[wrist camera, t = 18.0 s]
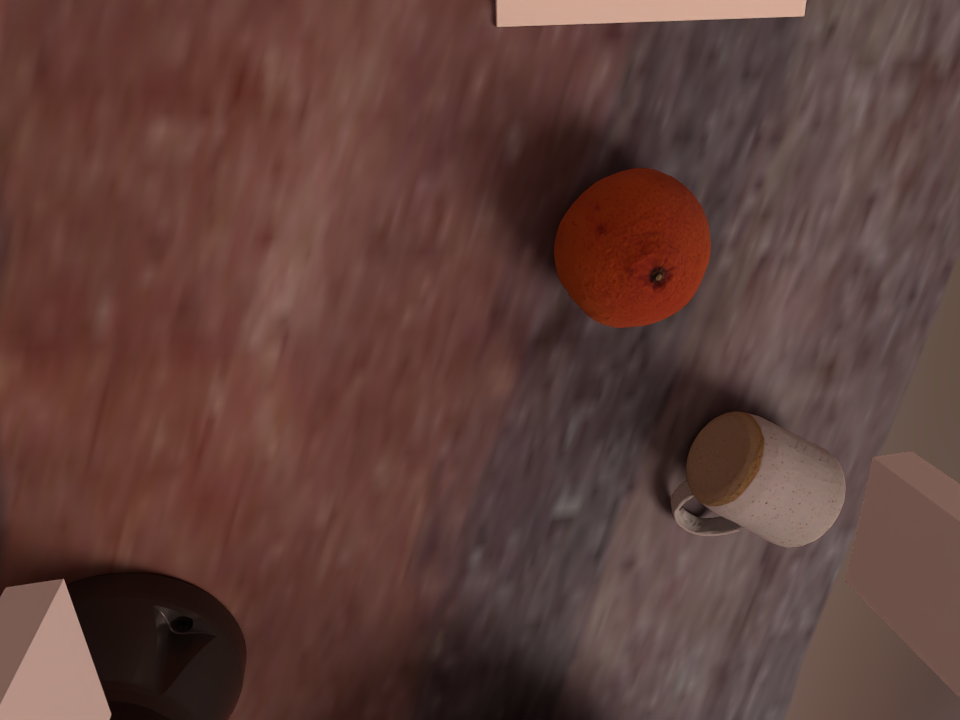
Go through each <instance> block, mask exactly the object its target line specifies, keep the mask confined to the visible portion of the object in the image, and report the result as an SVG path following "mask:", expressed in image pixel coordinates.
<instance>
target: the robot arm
mask: <svg viewBox="0 0 960 720" xmlns="http://www.w3.org/2000/svg"><path fill="white" fill-rule="evenodd" d="M846 582H847V583H848V584H849V585H850V586H851V587H852V588H853V589H854V590H855V592H857V594H858V595H860V597H861V598H862V599H863V600H864V601H865V602H866V603H867V604H868V605H869V606H870V607H871V608H872V609H873V610H874V611H875V612H876V613H877V614H878V615H879V616H880V617H881V618H882V619H883V620H884V621H885V622H886V623H887V624H888V625H889V626H890V627H891V628H892V629H893V630H894V631H895V632H896V633H897V634H898V635H899V636H900V637H901V638H902V639H903V640H904V641H905V643H906V644H907V645H908V646H909V647H910V648H911V649H912V650H913V651H914V652H915V653H916V654H917V655H918V656H919V657H920V658H921V659H922V660H923V661H924V662H925V663H926V664H927V665H928V666H929V667H930V668H931V669H932V670H933V671H934V672H935V673H936V674H937V675H938V676H939V677H940V678H941V679H942V680H943V681H944V682H945V683H946V684H947V685H948V686H949V687H950V688H951V689H952V690H953V691H954V692H955V693H956V695H958V697H959V698H960V484H958V483H957V482H956V481H954V480H953V479H951V478H950V477H948V476H947V475H945V474H944V473H943V472H941V471H940V470H938V469H937V468H935V467H934V466H932V465H931V464H929V463H928V462H926V461H925V460H923V459H922V458H921V457H919V456H918V455H916V454H915V453H913V452H912V451H911V452H904V453H898V454H892V455H884V456H878V457H873V459H872V464H871V468H870V473H869V477H868V482H867V486H866V491H865V495H864V500H863V504H862V509H861V513H860V518H859V522H858V527H857V532H856V536H855V541H854V545H853V550H852V554H851V559H850V564H849V568H848V572H847V577H846ZM245 664H246V645H245V640H244V637H243V634H242V631H241V629H240V627H239V625H238V623H237V622H236V620H235V618H234V617H233V616H232V615H231V613H230V612H229V611H228V610H227V609H226V608H225V607H224V606H223V605H222V604H221V603H220V602H219V601H217V600H216V599H215V598H213V597H212V596H210V595H209V594H207V593H206V592H204V591H202V590H200V589H198V588H196V587H194V586H192V585H190V584H187V583H185V582H182V581H179V580H176V579H172V578H168V577H164V576H159V575H153V574H143V573H117V574H108V575H101V576H96V577H92V578H87V579H84V580H81V581H78V582H75V583H72V584H70V585H67V586H66V584H65V581H64V579H59V580H52V581H45V582H39V583H32V584H25V585H19V586H12V587H6V588H5V590H4V591H3V593H2V595H1V596H0V720H228V719H229V717H230V715H231V714H232V712H233V710H234V708H235V706H236V704H237V702H238V699H239V696H240V693H241V690H242V686H243V679H244V672H245Z"/></svg>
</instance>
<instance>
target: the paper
mask: <svg viewBox="0 0 960 720" xmlns="http://www.w3.org/2000/svg"><path fill="white" fill-rule="evenodd" d="M495 1H496V27H510V26H539V25H568V24H596V23H625V22H654V21H682V20H711V19H740V18H768V17H797V16H804V14H805V6H806V0H495Z"/></svg>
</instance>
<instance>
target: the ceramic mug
mask: <svg viewBox="0 0 960 720" xmlns="http://www.w3.org/2000/svg"><path fill="white" fill-rule="evenodd" d="M686 476H687V481H685V482H683V483H682V484H681V485H679V486H678V488H677V489H676V490H675V491H674V493H673V494H672V497H671V508H672V514H673V517H674V520H675V522H676V523H677V524H678V525H679V526H680V527H681V528H682V529H684V530H686V531H688V532H690V533H693V534H697V535H702V536H719V535H725V534H729V533H734V532H737V531H740V530H742V529H744V528H745V529H747V530H749V531H751V532H753V533H755V534H757V535H758V536H760V537H762V538H764V539H765V540H767V541H769V542H771V543H774V544H776V545H780V546H784V547H796V546H803V545H805V544H808V543H810V542H812V541H815V540H816V539H818V538H819V537H821V536H822V535H823V534H824V533H825V532H826V531H827V530H828V529H829V528H830V527H831V526H832V525H833V523H834V522H835V520H836V518H837V517H838V515H839V513H840V510H841V508H842V505H843V503H844V498H845V478H844V473H843V470H842V468H841V466H840V464H839V462H838V461H837V459H836V458H835V457H834V456H833V455H832V454H831V453H829V452H828V451H827V450H825V449H823V448H822V447H820V446H818V445H816V444H814V443H811V442H809V441H807V440H805V439H803V438H802V437H800V436H798V435H796V434H794V433H792V432H790V431H787V430H785V429H783V428H781V427H779V426H777V425H776V424H774V423H772V422H770V421H768V420H766V419H764V418H762V417H759V416H756V415H753V414H749V413H745V412H738V411H734V412H728V413H725V414H722V415H720V416H718V417H716V418H714V419H713V420H711V421H710V422H709V423H708V424H707V425H706V426H705V427H704V428H703V429H702V430H701V431H700V432H699V434H698V435H697V437H696V438H695V440H694V442H693V444H692V445H691V448H690V451H689V454H688V458H687V464H686ZM693 496H695V497H696V498H697V499H698V500H699V502H701V503H702V504H703V505H704V506H706V507H707V508H708V509H710V510H711V511H713V512H714V513H716V514H718V515H720V516H721V517H715V518H700V517H696V516H694V515H692V514H690V513H689V512H687V511H686V510H685V509H684V508H683V507H681V506H682V505H683V504H684V503H685V502H686V501H687V500H690V499H691V498H692V497H693Z"/></svg>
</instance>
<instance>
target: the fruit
mask: <svg viewBox="0 0 960 720" xmlns="http://www.w3.org/2000/svg"><path fill="white" fill-rule="evenodd" d="M710 250H711V240H710V233H709V226H708V221H707V218H706V216H705V213H704V211H703V208H702V206H701V204H700V203H699V202H698V201H697V199H696V197H695V196H694V195H693V193H692V192H691V191H690V190H689V189H688V188H687V187H685V186H684V185H683V184H682V183H680V182H679V181H678V180H676V179H675V178H673V177H671V176H669V175H666V174H664V173H661V172H659V171H656V170H654V169H647V168H633V169H629V170H625V171H621V172H618V173H615V174H613V175H610V176H608V177H605V178H603V179H601V180H599V181H597V182H596V183H594V184H593V185H592V186H590V187H589V188H588V189H587V190H586V191H585V192H583V193H582V194H581V195H580V196H579V197H578V198H577V200H576V201H575V202H574V203H573V204H572V206H571V207H570V208H569V209H568V211H567V212H566V214H565V215H564V217H563V219H562V220H561V222H560V225H559V227H558V231H557V235H556V239H555V245H554V259H555V265H556V270H557V274H558V277H559V280H560V282H561V283H562V285H563V286H564V288H565V289H566V290H567V292H568V294H569V296H570V297H571V298H572V299H573V300H574V302H575V303H576V304H577V305H578V306H579V307H580V308H581V309H582V310H583V311H584V312H585V313H586V314H587V315H588V316H589V317H591V318H592V319H593V320H595V321H597V322H599V323H601V324H603V325H606V326H611V327H616V328H622V327H635V326H644V325H649V324H652V323H655V322H658V321H660V320H662V319H665V318H667V317H669V316H670V315H673V314H674V313H676V312H677V311H679V310H680V309H682V308H683V307H684V306H685V305H686V304H687V303H688V302H689V301H690V300H691V299H692V297H693V296H694V294H695V292H696V291H697V289H698V287H699V285H700V283H701V281H702V279H703V276H704V273H705V271H706V268H707V265H708V262H709V259H710Z"/></svg>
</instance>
